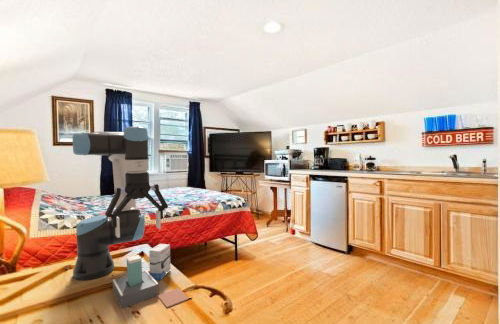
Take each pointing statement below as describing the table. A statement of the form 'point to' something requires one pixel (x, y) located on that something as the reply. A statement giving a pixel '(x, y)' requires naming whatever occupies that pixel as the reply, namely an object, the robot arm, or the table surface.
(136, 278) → the teal tall block
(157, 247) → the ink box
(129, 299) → the grey socket base
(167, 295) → the mat
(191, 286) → the table surface
